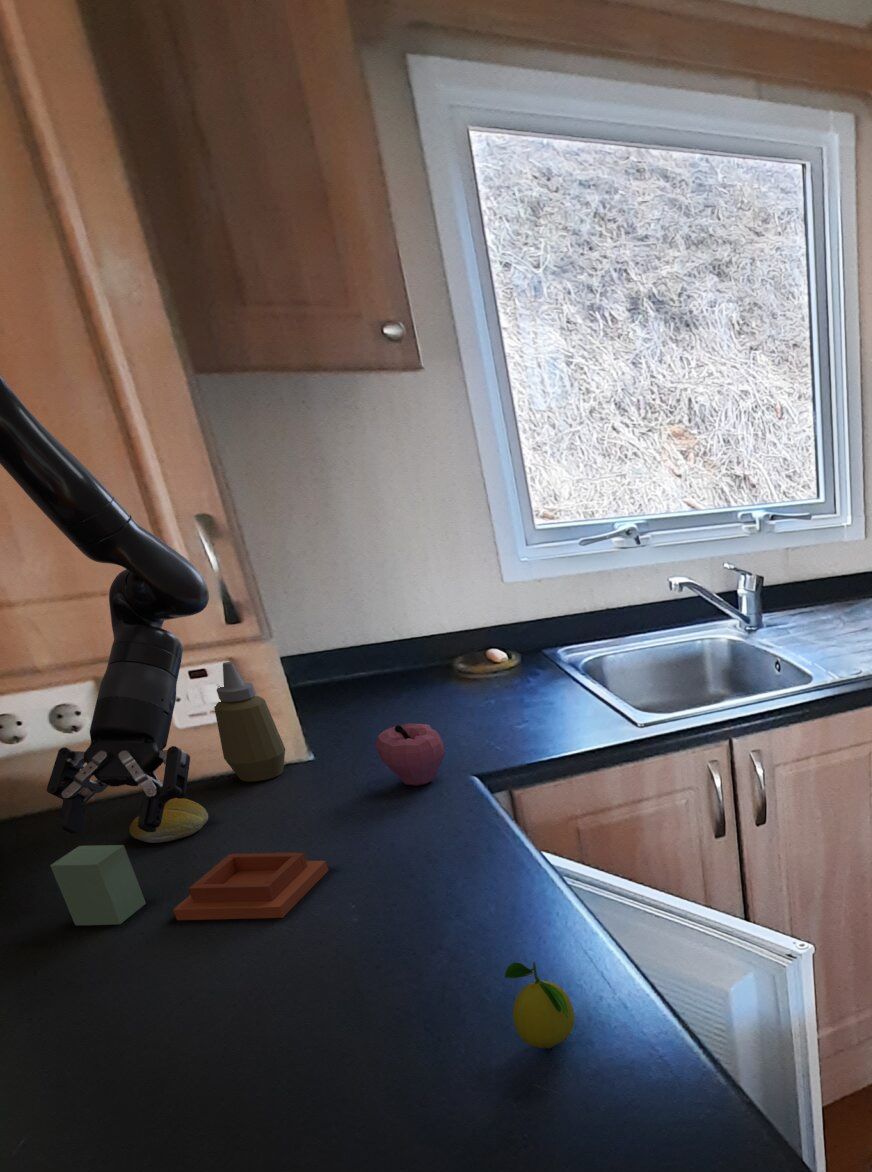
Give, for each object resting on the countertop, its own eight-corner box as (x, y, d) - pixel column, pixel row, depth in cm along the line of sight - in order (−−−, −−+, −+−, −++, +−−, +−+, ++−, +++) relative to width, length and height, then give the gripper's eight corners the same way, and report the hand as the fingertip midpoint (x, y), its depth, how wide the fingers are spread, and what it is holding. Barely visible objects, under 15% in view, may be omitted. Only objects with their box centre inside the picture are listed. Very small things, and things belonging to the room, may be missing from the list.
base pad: (282, 917, 125) (274, 892, 123) (176, 920, 124) (167, 894, 122) (328, 870, 136) (321, 846, 134) (231, 872, 135) (223, 848, 133)
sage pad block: (120, 924, 123) (96, 864, 119) (75, 925, 123) (49, 865, 119) (146, 903, 127) (123, 844, 124) (102, 904, 127) (79, 845, 123)
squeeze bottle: (221, 777, 162) (184, 664, 154) (276, 761, 168) (243, 652, 160) (246, 789, 158) (209, 674, 150) (301, 773, 164) (269, 661, 156)
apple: (457, 785, 161) (443, 723, 156) (396, 799, 156) (380, 736, 151) (438, 766, 167) (424, 706, 163) (379, 779, 162) (363, 718, 158)
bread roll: (122, 847, 141) (112, 820, 139) (156, 819, 148) (147, 793, 147) (190, 843, 142) (181, 816, 140) (220, 815, 150) (211, 790, 148)
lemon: (516, 1032, 106) (499, 949, 101) (577, 1021, 108) (563, 939, 103) (515, 1073, 100) (497, 986, 96) (580, 1060, 102) (564, 975, 98)
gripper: (51, 694, 126) (20, 821, 121) (176, 693, 127) (150, 819, 122) (95, 721, 133) (68, 842, 128) (214, 719, 134) (191, 839, 129)
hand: (108, 830), depth 125 cm, fingers open, 8 cm apart
